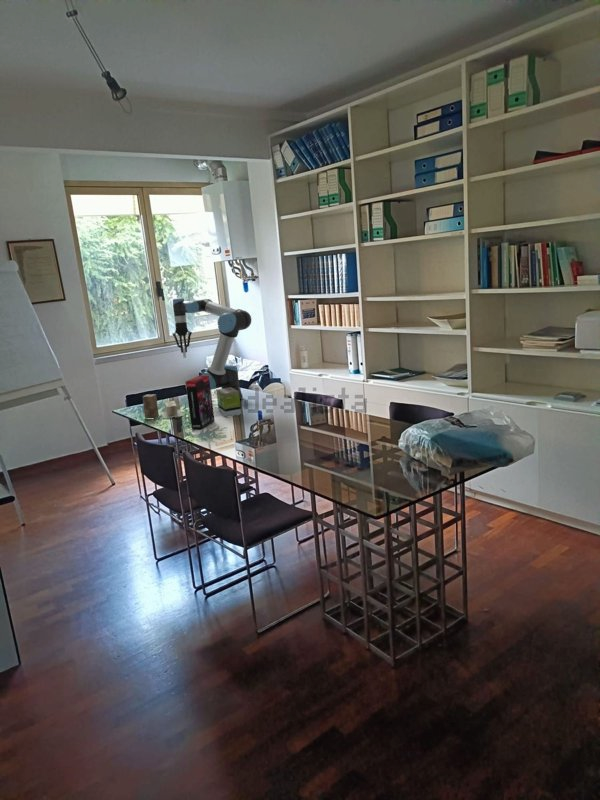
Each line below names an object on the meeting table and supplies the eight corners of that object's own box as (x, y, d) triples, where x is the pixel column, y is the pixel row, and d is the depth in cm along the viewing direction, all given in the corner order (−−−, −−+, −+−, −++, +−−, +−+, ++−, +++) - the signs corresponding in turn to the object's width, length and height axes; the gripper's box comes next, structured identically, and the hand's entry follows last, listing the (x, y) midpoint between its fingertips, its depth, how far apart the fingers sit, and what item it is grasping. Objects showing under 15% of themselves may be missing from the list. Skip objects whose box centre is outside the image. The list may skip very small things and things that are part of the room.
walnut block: (158, 416, 356) (156, 394, 353) (154, 419, 350) (151, 396, 347) (149, 416, 357) (146, 394, 354) (145, 419, 352) (142, 396, 349)
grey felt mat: (180, 410, 369) (180, 409, 369) (183, 416, 352) (183, 415, 352) (160, 412, 366) (160, 412, 366) (163, 419, 349) (163, 418, 349)
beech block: (174, 400, 368) (176, 405, 353) (175, 409, 369) (177, 415, 354) (164, 401, 366) (166, 407, 351) (165, 411, 368) (167, 416, 353)
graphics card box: (201, 430, 319) (196, 381, 313) (190, 429, 321) (184, 381, 315) (215, 421, 335) (210, 375, 329) (204, 421, 337) (199, 375, 331)
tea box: (218, 412, 356) (215, 389, 352) (233, 410, 360) (231, 386, 356) (225, 417, 342) (223, 393, 339) (242, 414, 346) (239, 390, 343)
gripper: (190, 320, 390) (193, 355, 395) (170, 322, 386) (174, 357, 392) (191, 321, 383) (195, 357, 388) (171, 323, 379) (175, 359, 385)
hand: (184, 357), depth 390 cm, fingers closed
